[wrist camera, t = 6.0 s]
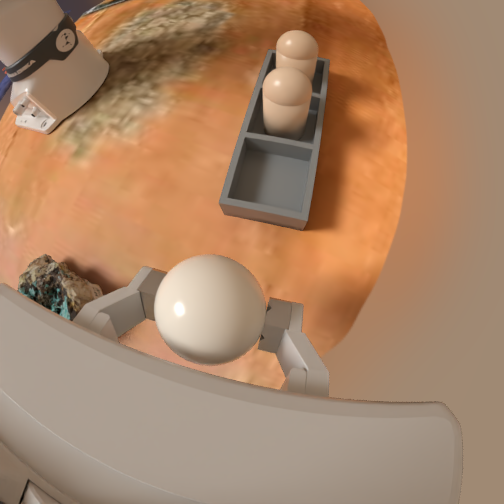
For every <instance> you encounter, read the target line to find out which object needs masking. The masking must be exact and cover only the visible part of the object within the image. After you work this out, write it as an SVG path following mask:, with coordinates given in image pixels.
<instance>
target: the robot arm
mask: <svg viewBox="0 0 504 504" xmlns="http://www.w3.org/2000/svg"><path fill="white" fill-rule="evenodd" d="M0 60H1V61H2V62H3V63H4V64H5V67H4V69H6V72H5V73H7V75H8V77H10V79H11V81H12V82H13V87H12V93H11V104H12V105H13V106H14V107H15V108H14V109H13V112H14V113H15V114H16V115H17V118H16V122H15V124H16V125H17V126H18V127H21V128H25V129H29V130H33V131H37V132H40V133H44V134H49V133H50V132H51V131H52V130H53V129H54V128H55V127H56V126H57V125H58V124H59V123H60V122H61V121H62V120H63V119H65V118H66V117H67V116H69V115H70V114H72V113H73V112H75V111H76V110H77V109H79V108H80V107H81V106H82V105H83V104H84V103H86V102H87V101H88V100H89V99H90V98H91V97H92V96H93V94H94V93H95V92H96V91H97V90H98V89H99V87H100V86H101V85H102V83H103V82H104V80H105V78H106V76H107V74H108V71H109V64H108V62H107V61H106V60H104V59H103V53H102V51H101V50H96V49H95V48H94V46H93V45H92V44H91V43H90V41H89V40H88V39H87V38H86V37H85V36H84V34H83V33H82V32H81V31H79V30H76V26H75V24H74V22H73V20H72V18H71V17H69V15H68V14H67V13H63V11H62V10H61V8H60V7H59V5H58V3H57V2H56V0H0ZM4 69H3V70H4ZM167 273H168V272H165V271H162V270H158V269H155V268H151V267H148V266H143V267H142V268H141V269H140V271H139V272H138V273H137V274H136V276H135V277H134V278H133V280H132V281H131V282H130V284H129V285H128V286H127V287H122V288H120V289H118V290H115V291H113V292H111V293H109V294H107V295H104V296H102V297H100V298H98V299H96V300H93V301H91V302H89V303H87V304H85V305H84V306H83V308H82V309H81V310H80V312H79V313H78V314H77V316H76V317H75V318H74V320H73V321H70V320H68V319H66V318H64V317H62V316H60V315H58V314H56V313H55V312H53V311H51V310H49V309H47V308H45V307H44V306H42V305H40V304H38V303H37V302H35V301H33V300H31V299H30V298H28V297H26V296H25V295H23V294H21V293H20V292H18V291H17V290H15V289H13V288H12V287H10V286H9V285H7V284H5V283H0V504H459V500H460V493H461V485H462V473H463V442H462V431H461V426H460V423H459V421H458V420H457V418H456V417H455V416H454V414H453V413H452V412H451V411H450V409H449V408H448V407H447V406H446V405H445V404H444V403H442V402H383V401H363V400H351V399H341V398H331V397H328V395H329V371H328V370H327V368H326V366H325V365H324V363H323V362H322V360H321V358H320V357H319V355H318V354H317V352H316V350H315V349H314V347H313V346H312V344H311V342H310V341H309V339H308V338H307V336H306V334H305V333H302V321H303V307H304V305H303V304H301V303H296V302H291V301H286V300H281V299H276V298H271V297H270V299H269V302H268V307H267V310H266V319H265V324H264V328H263V331H262V333H261V336H260V341H259V345H258V349H259V350H263V351H267V352H272V353H276V356H277V358H278V361H279V363H280V365H281V368H282V370H283V372H284V375H285V377H286V379H285V381H284V383H283V385H282V387H281V389H280V390H278V389H273V388H268V387H263V386H258V385H253V384H249V383H244V382H240V381H236V380H231V379H227V378H224V377H220V376H216V375H212V374H209V373H205V372H201V371H198V370H195V369H191V368H188V367H185V366H182V365H178V364H175V363H172V362H169V361H166V360H163V359H160V358H158V357H155V356H152V355H149V354H146V353H144V352H141V351H138V350H136V349H133V348H131V347H128V346H126V345H123V344H121V343H120V342H119V340H118V337H119V336H121V335H122V334H124V333H125V332H127V331H128V330H130V329H131V328H133V327H134V326H136V325H137V324H139V323H141V322H142V321H144V320H145V318H146V319H149V320H153V321H155V316H154V302H155V296H156V293H157V290H158V288H159V285H160V283H161V282H162V280H163V278H164V277H165V276H166V274H167Z"/></svg>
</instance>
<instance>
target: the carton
mask: <svg viewBox="0 0 504 504" xmlns="http://www.w3.org/2000/svg"><path fill="white" fill-rule="evenodd" d="M317 56H318V44H317V42H316V40H315V39H314V38H313V37H312V36H311V35H310V34H308V33H306V32H304V31H300V30H292V31H288V32H286V33H284V34H283V35H282V36H281V37H280V38H279V39H278V41H277V44H276V50H270V49H268V52H267V55H266V58H265V60H264V63H263V66H262V69H261V71H260V74H259V77H258V80H257V83H256V86H255V88H254V91H253V94H252V97H251V100H250V103H249V106H248V109H247V112H246V115H245V118H244V121H243V124H242V127H241V131H240V134H239V137H238V140H237V143H236V146H235V150H234V153H233V156H232V159H231V163H230V166H229V169H228V173H227V176H226V179H225V183H224V186H223V190H222V193H221V197H220V200H219V205H220V207H221V209H222V211H223V213H224V215H229V216H234V217H239V218H244V219H249V220H254V221H259V222H263V223H268V224H273V225H278V226H282V227H287V228H292V229H296V230H301V231H303V229H304V227H305V225H306V223H307V221H308V216H309V210H310V204H311V198H312V193H313V187H314V180H315V174H316V168H317V161H318V154H319V148H320V141H321V133H322V126H323V118H324V110H325V102H326V93H327V84H328V74H329V63H330V60H329V59H324V58H320V57H317Z"/></svg>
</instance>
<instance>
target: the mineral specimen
mask: <svg viewBox="0 0 504 504" xmlns="http://www.w3.org/2000/svg"><path fill="white" fill-rule="evenodd" d="M17 291H18V292H20V293H21V294H23V295H25V296H26V297H28V298H30V299H31V300H33V301H35V302H37V303H38V304H40V305H42V306H44V307H45V308H47V309H49V310H51V311H53V312H55V313H56V314H58V315H60V316H62V317H64V318H66V319H68V320H70V321H73V320H74V318H75V317H76V316H77V314H78V313H79V312H80V310H81V309H82V308H83V306H84V305H85V304H87V303H89V302H91V301H93V300H96V299H98V298H100V297H102V296H103V293H102V290H101V288H100V286H99V285H97V284H92V283H90V282H89V281H87V280H86V279H82V278H80V277H79V276H78V275H76V274H75V273H74V272H73V271H72V272H70V270H69V269H68V266H67V264H66V263H65V262H61V263H56V262H55V261H54V260H52V258H51V256H49V255H48V256H47V255H46V254H44V255H42V256H40V257H39V258H37V259H35V260H34V261H33V262H31V263H30V264H29V266H28V268H27V269H26V270H25V272H24V273H23V274H22V275H21V276H20V277H19V285H18V290H17Z"/></svg>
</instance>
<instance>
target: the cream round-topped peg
mask: <svg viewBox="0 0 504 504" xmlns="http://www.w3.org/2000/svg"><path fill="white" fill-rule="evenodd" d="M154 316H155V322H156V325H157V328H158V331H159V333H160V335H161V337H162V339H163V340H164V342H165V343H166V344H167V345H168V347H169V348H170V349H171V350H172V351H173V352H175V353H176V354H177V355H179V356H180V357H182V358H184V359H185V360H187V361H190V362H192V363H195V364H199V365H206V366H217V365H222V364H226V363H230V362H233V361H235V360H237V359H239V358H240V357H242V356H243V355H245V354H246V353H247V352H248V351H249V350H250V349H251V348H252V347H253V346H254V345H255V343H256V342H257V340H258V339H259V337H260V335H261V333H262V331H263V328H264V324H265V319H266V302H265V297H264V294H263V291H262V288H261V286H260V284H259V283H258V281H257V279H256V278H255V277H254V275H253V274H252V273H251V272H250V271H249V270H248V269H247V268H246V267H244V266H243V265H242V264H240V263H238V262H237V261H235V260H233V259H231V258H228V257H225V256H222V255H215V254H204V255H198V256H194V257H190V258H188V259H185V260H183V261H182V262H180V263H178V264H177V265H176V266H174V267H173V268H172V269H171V270H170V271H169V272H168V273H167V274H166V276H165V277H164V278H163V280H162V282H161V283H160V285H159V288H158V290H157V293H156V296H155V302H154Z"/></svg>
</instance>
